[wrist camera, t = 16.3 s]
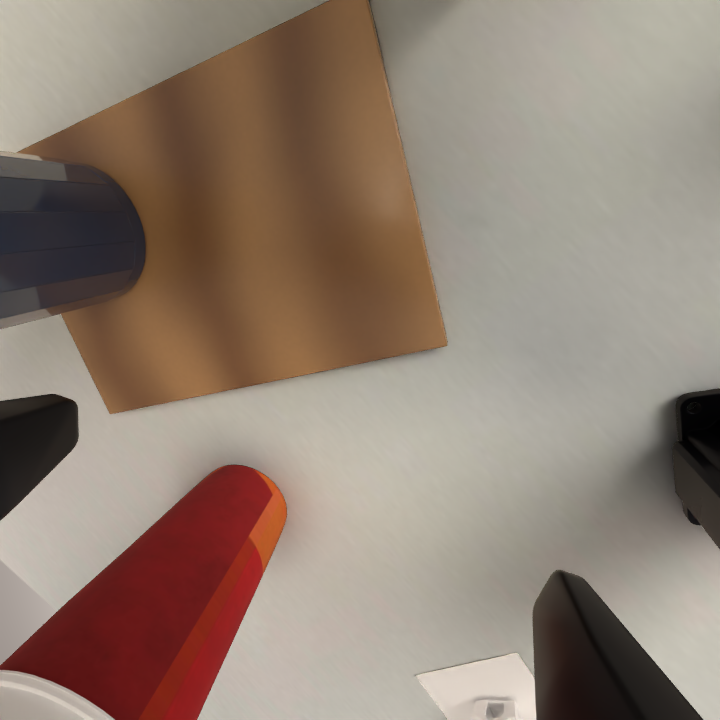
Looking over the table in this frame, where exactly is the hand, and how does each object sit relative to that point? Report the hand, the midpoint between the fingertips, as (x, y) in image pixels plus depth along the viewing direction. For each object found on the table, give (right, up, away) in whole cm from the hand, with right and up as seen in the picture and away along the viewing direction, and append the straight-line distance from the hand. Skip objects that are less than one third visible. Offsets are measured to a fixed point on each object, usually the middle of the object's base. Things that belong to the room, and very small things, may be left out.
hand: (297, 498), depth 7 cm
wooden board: (-6, +8, +13) cm, 16 cm away
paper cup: (-6, -6, +18) cm, 20 cm away
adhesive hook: (+10, -21, +19) cm, 30 cm away
